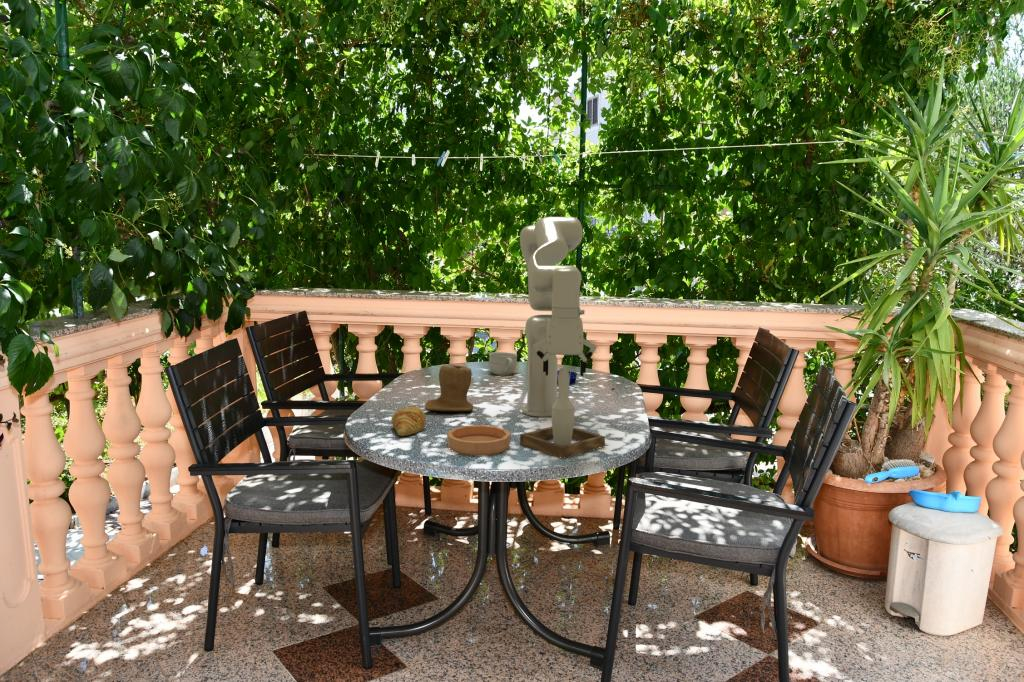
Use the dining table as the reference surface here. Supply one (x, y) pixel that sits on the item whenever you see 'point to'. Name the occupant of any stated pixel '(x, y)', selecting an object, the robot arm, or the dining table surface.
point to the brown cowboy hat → (452, 390)
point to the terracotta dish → (479, 440)
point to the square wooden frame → (539, 443)
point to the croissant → (408, 420)
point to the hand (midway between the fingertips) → (564, 374)
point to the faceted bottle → (563, 411)
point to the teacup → (502, 362)
